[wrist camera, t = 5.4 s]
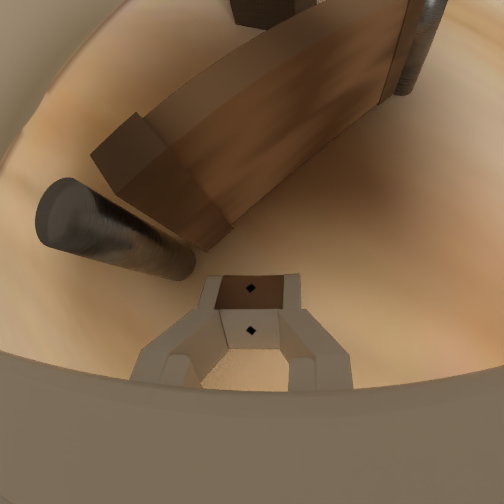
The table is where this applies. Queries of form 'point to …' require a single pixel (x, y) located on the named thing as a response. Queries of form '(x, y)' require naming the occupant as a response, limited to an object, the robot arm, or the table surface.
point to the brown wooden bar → (258, 115)
